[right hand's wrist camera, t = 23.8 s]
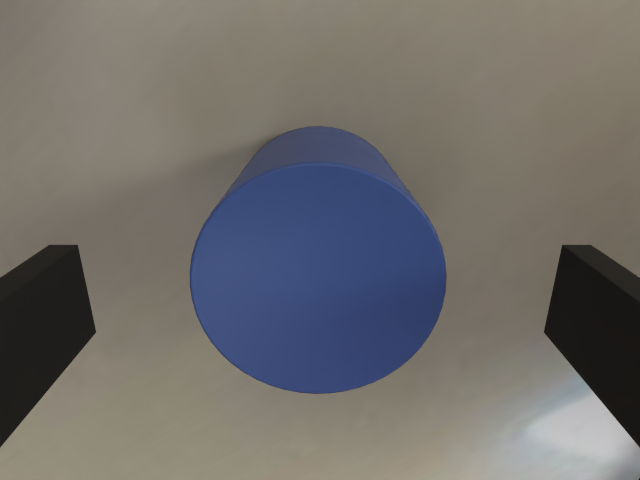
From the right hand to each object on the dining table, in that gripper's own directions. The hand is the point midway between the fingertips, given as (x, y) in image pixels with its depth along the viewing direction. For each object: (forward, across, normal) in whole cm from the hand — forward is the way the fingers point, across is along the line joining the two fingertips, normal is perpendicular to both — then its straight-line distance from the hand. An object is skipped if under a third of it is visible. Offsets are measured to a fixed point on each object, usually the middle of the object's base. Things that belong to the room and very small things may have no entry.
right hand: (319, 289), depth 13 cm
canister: (+8, 0, 0) cm, 8 cm away
